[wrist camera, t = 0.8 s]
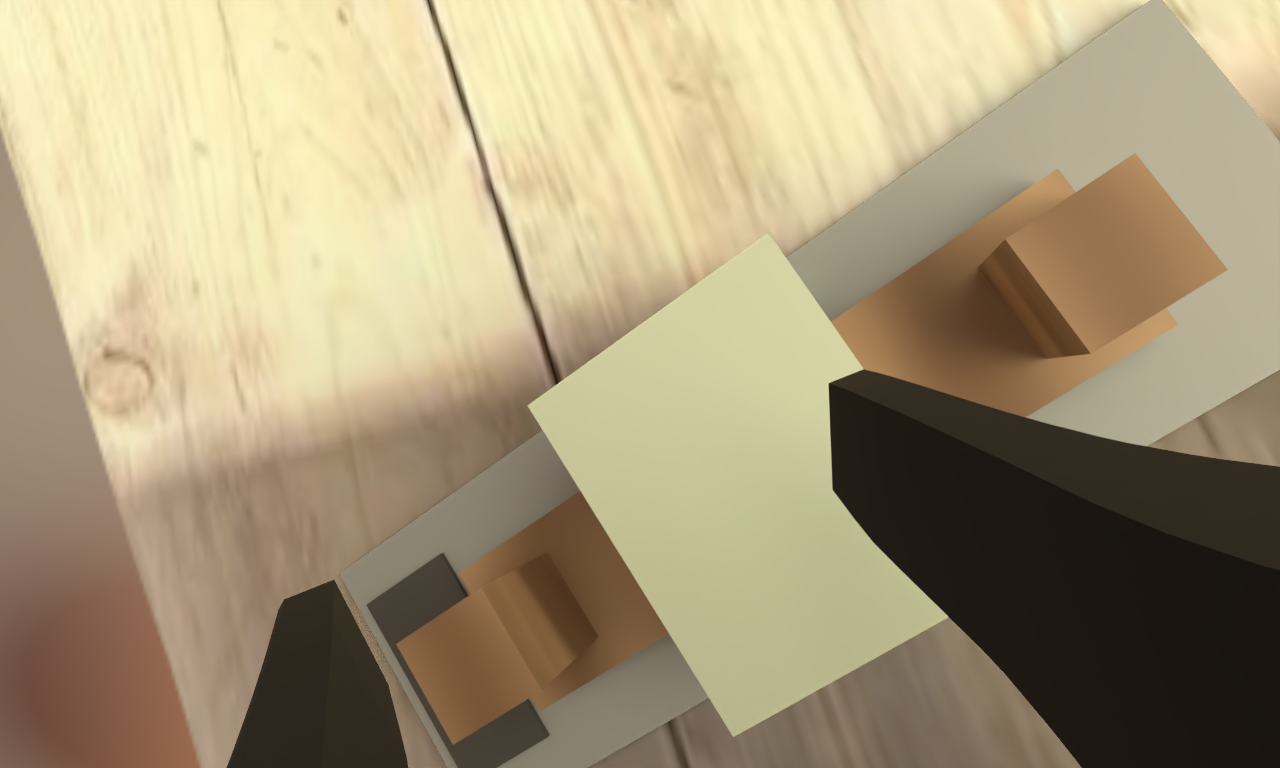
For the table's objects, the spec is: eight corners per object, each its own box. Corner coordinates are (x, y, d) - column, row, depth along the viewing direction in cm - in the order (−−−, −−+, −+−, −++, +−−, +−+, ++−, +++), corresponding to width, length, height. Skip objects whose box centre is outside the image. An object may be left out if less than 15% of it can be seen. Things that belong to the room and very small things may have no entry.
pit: (443, 552, 28) (440, 553, 28) (550, 734, 27) (547, 737, 27) (369, 603, 29) (365, 604, 29) (470, 782, 28) (467, 785, 28)
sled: (1048, 179, 23) (1105, 115, 17) (1162, 327, 22) (1260, 310, 16) (476, 564, 27) (377, 611, 22) (554, 697, 27) (472, 779, 21)
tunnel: (796, 273, 25) (768, 232, 18) (970, 521, 24) (1012, 581, 17) (618, 398, 27) (527, 405, 20) (771, 637, 26) (733, 737, 19)
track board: (1151, 4, 23) (1157, -5, 22) (1392, 298, 21) (1407, 295, 21) (348, 569, 30) (338, 573, 29) (489, 819, 28) (481, 829, 28)
